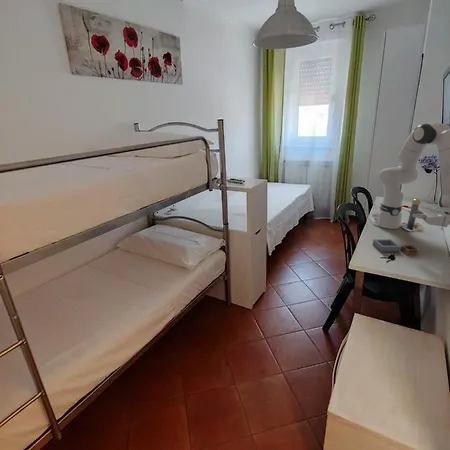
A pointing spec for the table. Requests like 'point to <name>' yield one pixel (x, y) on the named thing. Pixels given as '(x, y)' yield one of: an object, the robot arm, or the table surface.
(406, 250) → the collar
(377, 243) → the tray
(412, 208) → the pin
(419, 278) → the table surface
